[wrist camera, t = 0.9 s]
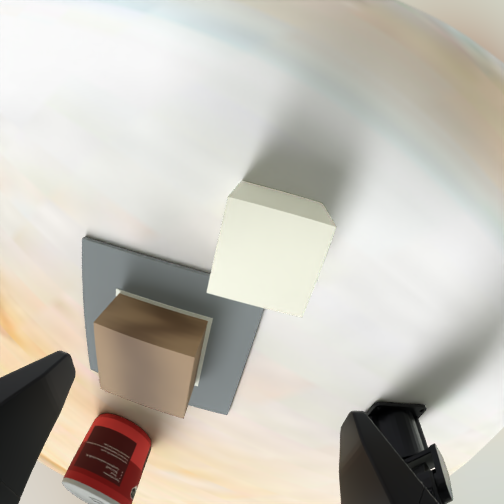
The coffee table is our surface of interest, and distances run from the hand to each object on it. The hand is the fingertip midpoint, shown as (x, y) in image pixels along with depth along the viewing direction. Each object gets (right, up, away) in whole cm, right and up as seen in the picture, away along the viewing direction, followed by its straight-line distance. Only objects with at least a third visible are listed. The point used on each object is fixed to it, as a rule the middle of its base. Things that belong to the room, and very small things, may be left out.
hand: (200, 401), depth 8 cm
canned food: (-14, -18, +22) cm, 31 cm away
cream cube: (+3, +6, +11) cm, 12 cm away
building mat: (-6, -3, +15) cm, 16 cm away
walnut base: (-6, -3, +14) cm, 16 cm away
